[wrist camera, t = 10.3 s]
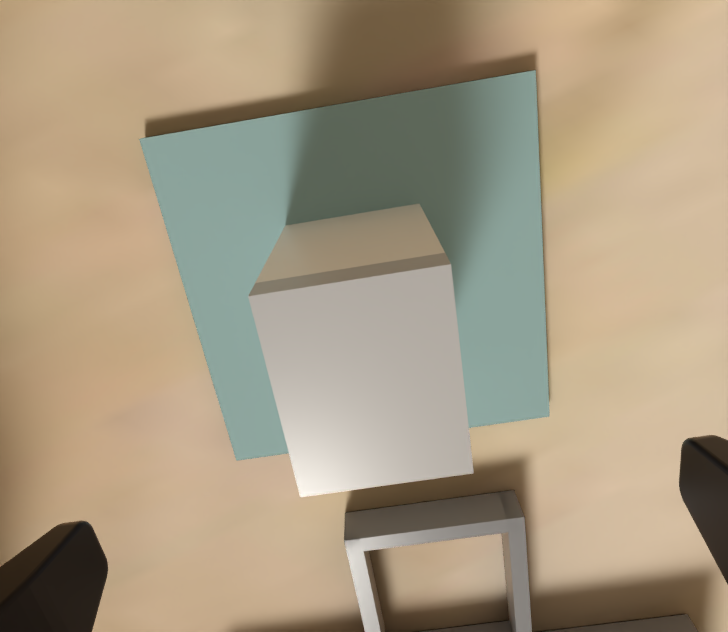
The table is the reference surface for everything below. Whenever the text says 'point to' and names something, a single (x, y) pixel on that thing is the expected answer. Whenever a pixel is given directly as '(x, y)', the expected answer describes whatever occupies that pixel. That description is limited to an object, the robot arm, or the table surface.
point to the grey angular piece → (456, 523)
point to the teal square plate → (359, 195)
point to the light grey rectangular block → (364, 351)
